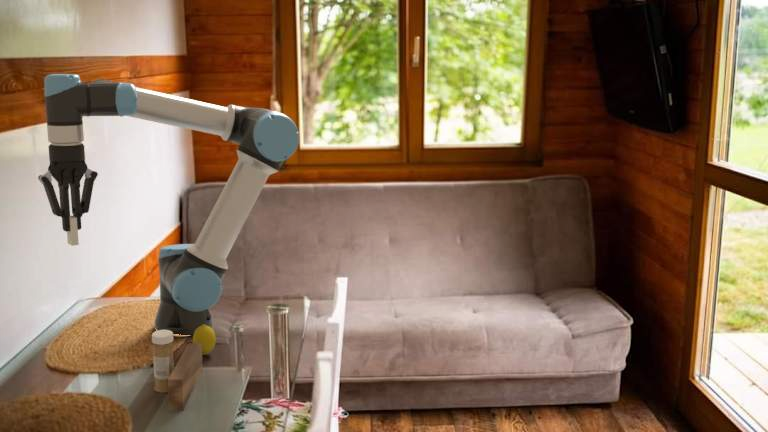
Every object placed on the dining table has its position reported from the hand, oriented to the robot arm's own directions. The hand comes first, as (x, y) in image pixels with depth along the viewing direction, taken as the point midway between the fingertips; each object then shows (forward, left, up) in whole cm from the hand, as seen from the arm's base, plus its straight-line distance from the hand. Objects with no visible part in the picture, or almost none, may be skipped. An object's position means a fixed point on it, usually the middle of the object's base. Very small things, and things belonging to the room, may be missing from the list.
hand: (73, 243), depth 182 cm
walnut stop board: (-12, +30, -29) cm, 44 cm away
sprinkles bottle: (-8, +27, -29) cm, 41 cm away
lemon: (-25, +15, -30) cm, 41 cm away
